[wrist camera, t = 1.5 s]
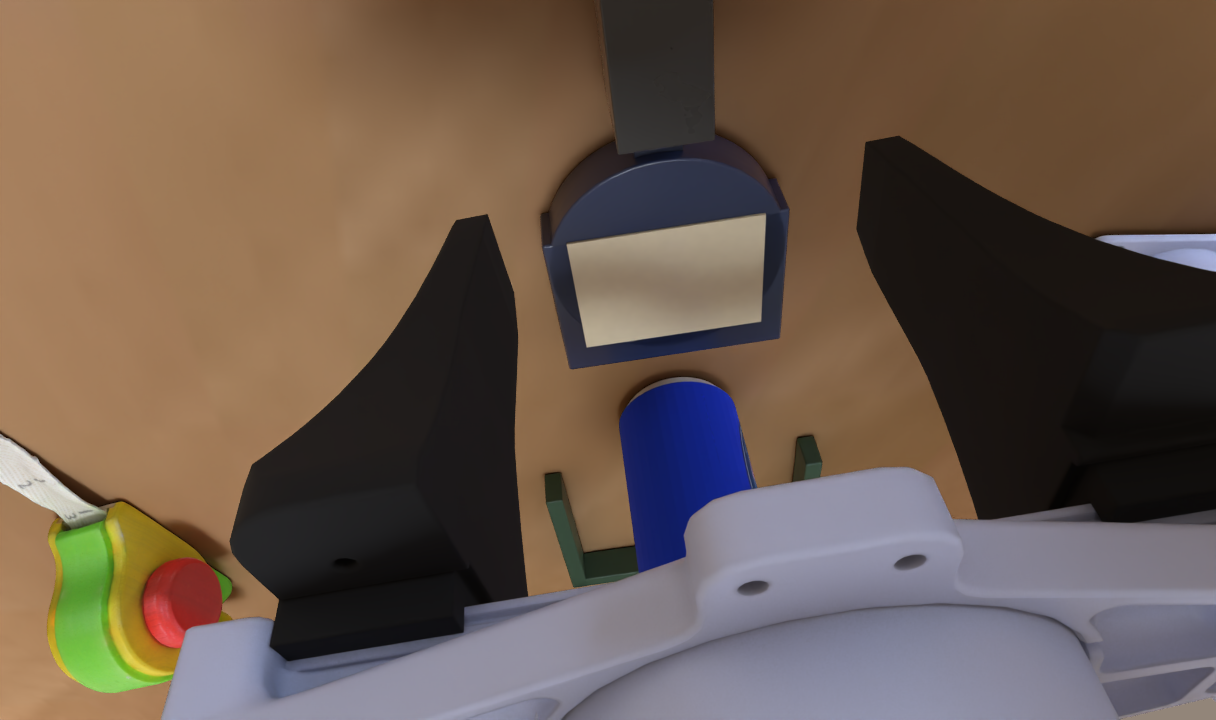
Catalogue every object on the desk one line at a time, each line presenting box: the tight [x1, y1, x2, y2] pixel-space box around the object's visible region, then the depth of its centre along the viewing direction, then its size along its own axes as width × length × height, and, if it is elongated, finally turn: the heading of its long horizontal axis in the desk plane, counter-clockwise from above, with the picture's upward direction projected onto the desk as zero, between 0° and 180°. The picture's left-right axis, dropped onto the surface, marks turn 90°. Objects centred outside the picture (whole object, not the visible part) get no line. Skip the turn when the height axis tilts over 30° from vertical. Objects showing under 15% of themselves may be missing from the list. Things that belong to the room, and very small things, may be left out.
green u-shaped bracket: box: [545, 436, 822, 588], centre depth 39 cm, size 13×9×2 cm
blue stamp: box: [540, 0, 790, 369], centre depth 23 cm, size 15×8×4 cm, turn 7°
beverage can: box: [619, 377, 757, 573], centre depth 29 cm, size 5×5×15 cm
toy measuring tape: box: [0, 434, 232, 693], centre depth 33 cm, size 6×19×7 cm, turn 17°
